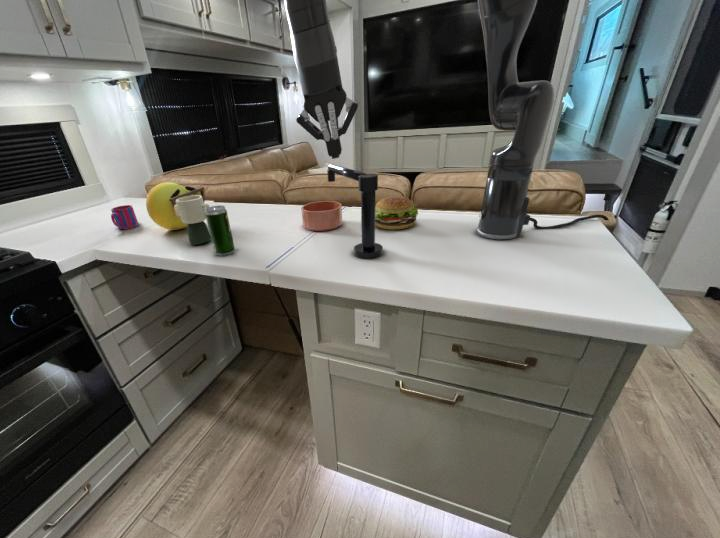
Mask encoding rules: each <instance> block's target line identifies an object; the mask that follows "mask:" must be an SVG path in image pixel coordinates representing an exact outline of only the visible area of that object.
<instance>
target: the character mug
mask: <svg viewBox="0 0 720 538" xmlns="http://www.w3.org/2000/svg"><path fill="white" fill-rule="evenodd" d="M176 202H177V205H174V209H175V213H176V215H177V216H181V219H182V222H183V223H186V224H188V225H187V227H186V228H187V229H186V230H187V237H188V242H189V244H192V245H201V244H205V243H207V242H209V241H211V240H212V239H211V235H210V231H209V227H208V224H207V223H206V222H205V220H207V219H206V215H205V212H206V211H205V209H206V208H208V207H210V204H208V203H205V202H203V198H202V196H200V195H192V196H185V197H181V198H178V199H177V200H176ZM178 209H179V210H178Z"/></svg>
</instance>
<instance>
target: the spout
mask: <svg viewBox="0 0 720 538" xmlns="http://www.w3.org/2000/svg"><path fill="white" fill-rule="evenodd" d="M326 171H327V182H329V183H333V182H336V175H338V176H341V177H344V178H347V179H351V180H354V181H356V182H358V191H359V192H361V191H363V192H370V191H375V192H376V191H377V190H378V189H379V175H378V174H377V173H365V172H362V171H358V170H354V169H351V168H348V167H344V166H340V165H337V164H334V163H330V164H329V165H327V170H326Z"/></svg>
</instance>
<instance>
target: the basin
mask: <svg viewBox="0 0 720 538" xmlns="http://www.w3.org/2000/svg"><path fill="white" fill-rule="evenodd" d="M300 209H301V219H302V226H303V228H304V229H307V230H309V231H314V232H326V231H331V230H335V229H337V228H338V227H340V226H341V225H342V224H343V205H342V203H341V202H339V201H335V200H334V201H333V200H321V201H320V200H319V201H313V202H309V203H306V204H304V205H302V207H301V208H300Z"/></svg>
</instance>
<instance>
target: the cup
mask: <svg viewBox="0 0 720 538" xmlns="http://www.w3.org/2000/svg"><path fill="white" fill-rule="evenodd" d="M110 211H111V214H110V218H111V222H112V223H113V225H114V226H115V227H117V229H119V230H128V229H129V230H130V229H133V228H136V227H138V226H139V225H140V223H139V221H138V219H137V215H136V213H135V210H134V207H133V205H131V204H125V205H119V206H115V207H112V208H111V209H110Z"/></svg>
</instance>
